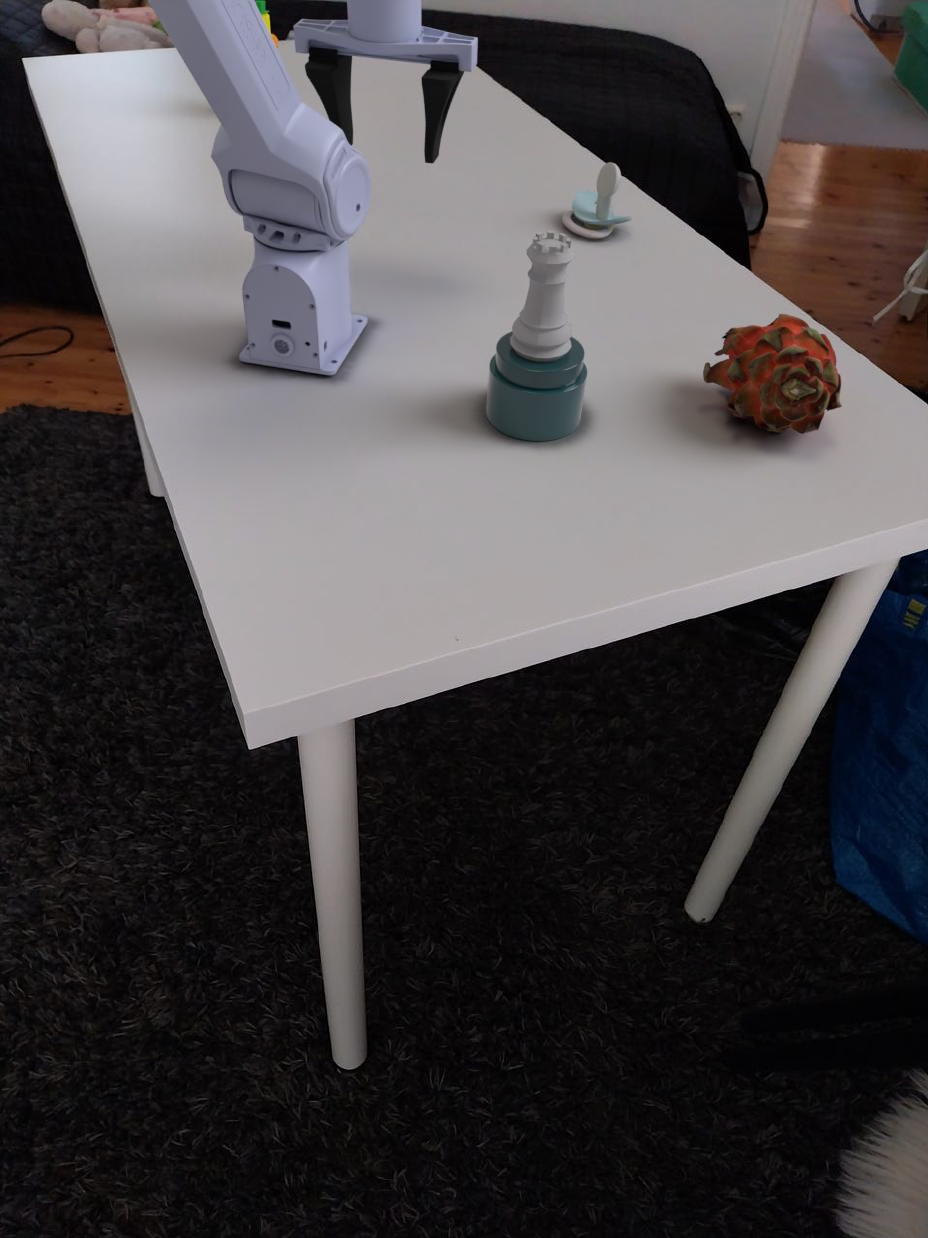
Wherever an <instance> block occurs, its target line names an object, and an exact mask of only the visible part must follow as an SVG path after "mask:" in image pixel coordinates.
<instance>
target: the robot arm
mask: <svg viewBox="0 0 928 1238" xmlns="http://www.w3.org/2000/svg"><path fill="white" fill-rule="evenodd" d="M255 1H256V0H147V2H148V4H149V6H150V7H151V9H152V11H153V12H154V14H155V16H156V18H157V19H158V21H159V22H160V24H161V26H162V28H163V29H164V31H165V32H166V35H167V36H168V38H169V39H170V41H171V43H172V44H173V46H174V47H175V49H176V51H177V53H178V54H179V56H180V58H181V59H182V61H183V63H184V64H185V66H186V68H187V69H188V71H189V73H190V74H191V76H192V78H193V79H194V81H195V83H196V85H197V86H198V88H199V89H200V91H201V93H202V95H203V97H204V98H205V100H206V101H207V104H208V105H209V107H210V108H211V110H212V112H213V113H214V115H215V116H216V118H217V120H218V122H219V123H220V125H219V127H218V130H217V132H216V134H215V137H214V141H213V144H212V150H211V154H210V158H211V159H212V161H213V163H214V164H215V166H216V168H217V169H218V170H217V171H218V172H219V176H220V178H221V182H222V188H223V192H224V196H225V198H226V199H225V200H226V201H227V203H228V205H229V207H230V208H231V210H232V211H233V212H234V213H235V214H237V215H238V216H241V217H242V222H243V230H244V231H245V232H248V233H250V234H251V235H252V236H253V245H254V254H253V255H254V256H253V261H252V263H251V267H250V268H249V270H248V271H247V273H246V275H245V277H244V279H243V282H242V288H241V296H242V303H243V311H244V320H245V328H246V336H247V344H246V345H245V347H244V348H243V349H242V350H241V352H240V353H239V355H238V359H239V360H240V362H243V363H249V364H254V365H255V364H256V365H261V366H267V367H274V368H279V369H286V370H292V371H299V372H304V373H311V374H316V375H317V374H318V375H325V376H333V375H334V376H335V375H336V373H338V371H339V369H340V367H342V364H343V362H344V361H345V359H346V357H348V354H349V353H350V351H351V350H352V349H353V347H354V345H355V344H356V342H357V340H358V339H359V337H360V335H361V334H362V332H363V330H364V329H365V328H366V326H367V325H368V317H367V316H365V315H359V314H353V313H352V302H351V276H350V275H351V274H350V273H351V272H350V250H349V239H351V238H352V237H353V236H354V235H355V234H356V233H357V232H358V230H359V229H360V228H361V227H362V226H363V224H364V222H365V220H366V217H367V215H368V212H369V209H370V204H371V199H372V176H371V171H370V168H369V165H368V162H367V160H366V157H365V156H364V154H363V152H361V151H360V150H359V149H357V148H355V147H354V146H353V144H354V122H353V113H352V112H353V111H352V99H351V98H352V68H353V67H352V65H353V57H357V58H368V59H376V60H386V61H395V62H402V63H403V62H404V63H412V64H422V65H430V67H429V69H427V70H426V71H425V72H424V74H423V75H422V76H421V81H420V82H421V89H422V96H423V97H422V98H423V106H424V107H423V108H424V121H425V125H424V126H425V127H424V149H423V151H424V152H423V153H424V163H425V164H434V163H435V162H436V160H437V159H438V157H439V155H440V148H441V143H442V136H443V132H444V128H445V123H446V121H447V117H448V113H449V111H450V108H451V105H452V102H453V99H454V98H455V94H456V92H457V89H458V87H459V85H460V82H461V80H462V78H463V76H464V74H465V72H467V73H472V72H473V70H474V69H475V68H476V67H477V65H478V48H479V47H478V44H479V43H478V42H479V39H478V37H477V36H469V35H463V34H458V33H453V32H449V31H446V30H441V29H436V28H432V27H428V26H424V25H422V0H346V8H347V9H346V10H347V19H308V18H301V19H300V20H298V22H296V23H295V24H294V25H293V37H294V49H295V53H296V54H304V55H305V54H308V57H307V58H308V59H307V60H308V61H307V62H306V63H305V64H304V71H305V75H306V77H307V79H308V80H309V81H310V83H311V85H312V86H313V88H314V90H315V92H316V94H317V96H318V97H319V99H320V101H321V104H322V106H323V107H324V108H323V109H324V110H325V112H326V115H327V117H325V116H324V115H322V114H321V113H320V112H318V111H316V110H315V109H314V108H312V107H311V106H309V105H308V104H306V103H305V102H304V101H303V100H302V98H301V96H300V94H299V92H298V90H297V87H296V85H295V83H294V81H293V79H292V77H291V75H290V73H289V71H288V69H287V67H286V65H285V62H284V60H283V58H282V55H281V54H280V52H279V50H278V48H277V47H276V45H275V43H274V41H273V39H272V37H271V35H270V33H269V30H268V28H267V26H266V24H265V22H264V20H263V18H262V16H261V13H260V11H259V9H258V7H257V5H256V3H255Z"/></svg>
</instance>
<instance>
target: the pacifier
mask: <svg viewBox="0 0 928 1238" xmlns="http://www.w3.org/2000/svg"><path fill="white" fill-rule="evenodd" d="M596 179H597V180H596V191H594V190H591V189H590V190H583V191H580V192H579V193H577V194H576V195H575V196H574V197H573V200H572V203H571V209H572V210H570V211H567V212H565V213H563V215H562V217H561V221H562V223H563V225H564V226H565V227H566V228H567V229H568V230H569V231H571V232H573V233H574V234H576V235H579V236H581V237H584V238H589V239H603V238H606V237H608V236H609V235H610V234H611V233H612V232H613V229H614V225H619V224H625V223H627V222H630V221H633V216H631V215H630V216H628V215H627V216H626V215H615V214H614V208H613V206H612V205H613V198H614V197H613V196H614V195H615V193H616V192H617V191H618V189H619V188H620V185H621V181H622V173H621V169H620V167H619V166H618V165H617V164H616V163H614V162H611V161H609V162H606V163H605V164H604V165H602V166H601V168H600V171H599V173H598V175H597V178H596ZM575 219H578V221H581V222H583V223H584V227H583V226H580V225H578V224H577V223H575V222H574V221H573V220H575Z"/></svg>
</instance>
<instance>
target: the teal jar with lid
mask: <svg viewBox="0 0 928 1238" xmlns="http://www.w3.org/2000/svg"><path fill="white" fill-rule="evenodd" d="M512 335H513V333H512V330H511V331H509V332H507V333H505V334H504V335H503V336H501V337H500V338H499V339H498V341H497V342H496V346H495V353H494V354H493V356H492V357H491V358H490V360H489V365H488V379H487V393H486V407H485V408H486V409H485V414H486V418H487V419H488V422H489V423H490V424H491V425H492V426H493V427H494V428H495V429H496V430H498V431H499V432H501V434H502V433H503V434H504V435H506V436H509V437H512V438H514V439H517V440H523V441H528V442H529V441H530V442H549V441H554V440H558V439H562V438H564V437H567V436H569V435H571V434H572V433H573V432H575V430H576V429H577V428H578V427H579V425H580V422H581V418H582V413H583V412H582V411H583V405H584V398H585V391H586V386H587V379H588V378H587V377H588V368H587V366H586V364H585V362H584V361H585V354H586V353H585V349H584V347H583V345H582V344H581V342H579V340H577V338H574V336H571V338H570V341H571V346H572V347H571V348H570V350H569V351H568V352H567V353H566V354H565V355H564V356H563V357H562V358H560V359H558V360H555V361H549V362H536V361H532V360H528V359H525V358H523V357H521V356H520V355H518V354H517V352H516V351H515V350H514V349H513V347H512V346H511V344H510V337H511V336H512Z"/></svg>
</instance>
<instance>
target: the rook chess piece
mask: <svg viewBox="0 0 928 1238" xmlns="http://www.w3.org/2000/svg"><path fill="white" fill-rule="evenodd" d="M571 245H572V240H571V238H570V237H568V235H567V234H565V233H563V232H561V233H559V235H558V238H555V230H547V231H546V237H544V233H543V232H541V231H540V232H537V233H535V236H533V237H532V243H531V244H530V245H529V247H527V249H525V250H526V255H527V257H528V259H529V261H530V262H531V267H530V269H529V270H528V271H527V276H528V278H529V286H528V290H527V295H526V298H525V303H524V305H523V308H522V309H521V311H519V315H518V316H517V318H516V319H515V320H514V321H513V323H512V326H511V331H512V333H513V335H512V336H511V337H510V344H511V346H512V347H513V349H514V350H515V351H516V352H517V354H518V355H520V356H521V357H523V358H525V359H528V360H532V361H536V362H549V361H555V360H558V359H560V358H562V357H563V356H564V355H565V354H566V353H567V352H568V351H569V350H570V348H571V347H572V346H571V341H570V338H571V337H573V333H572V326H571V323H570V322H569V318H568V314H566V312H565V311H566V310H565V286H566V282H567V280H568V279H569V278H570V276H569V273H568V272H567V267H568V265H569V264H570V263H571V262H572V261H573V260H574V259H575V257H576V256H575V251H574V250H573V248H572V247H571Z"/></svg>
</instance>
